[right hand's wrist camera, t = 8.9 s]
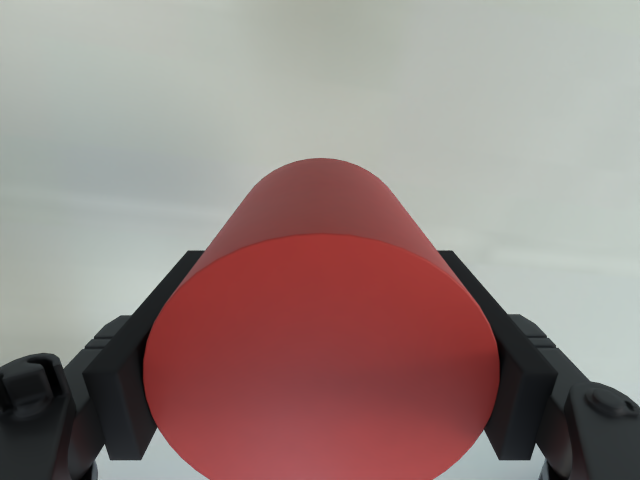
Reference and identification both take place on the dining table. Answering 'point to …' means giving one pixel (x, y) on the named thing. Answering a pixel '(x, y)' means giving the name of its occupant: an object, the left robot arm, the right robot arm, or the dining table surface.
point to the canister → (321, 340)
